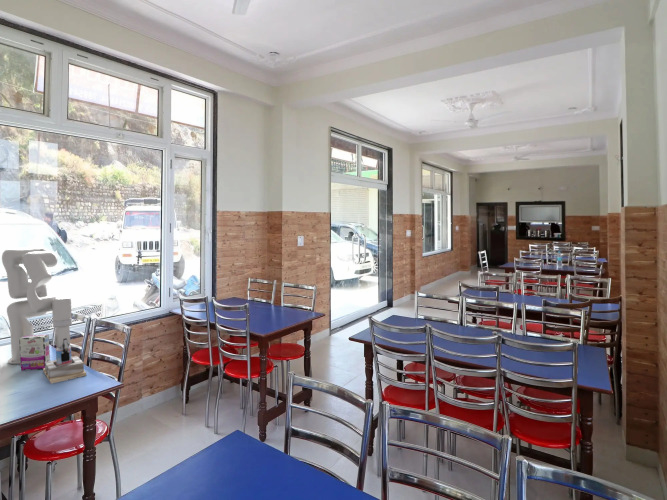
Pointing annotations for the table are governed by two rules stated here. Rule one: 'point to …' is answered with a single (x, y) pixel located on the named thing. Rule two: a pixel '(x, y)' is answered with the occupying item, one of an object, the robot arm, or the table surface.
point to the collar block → (64, 370)
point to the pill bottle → (58, 357)
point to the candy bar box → (34, 351)
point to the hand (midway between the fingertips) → (63, 358)
